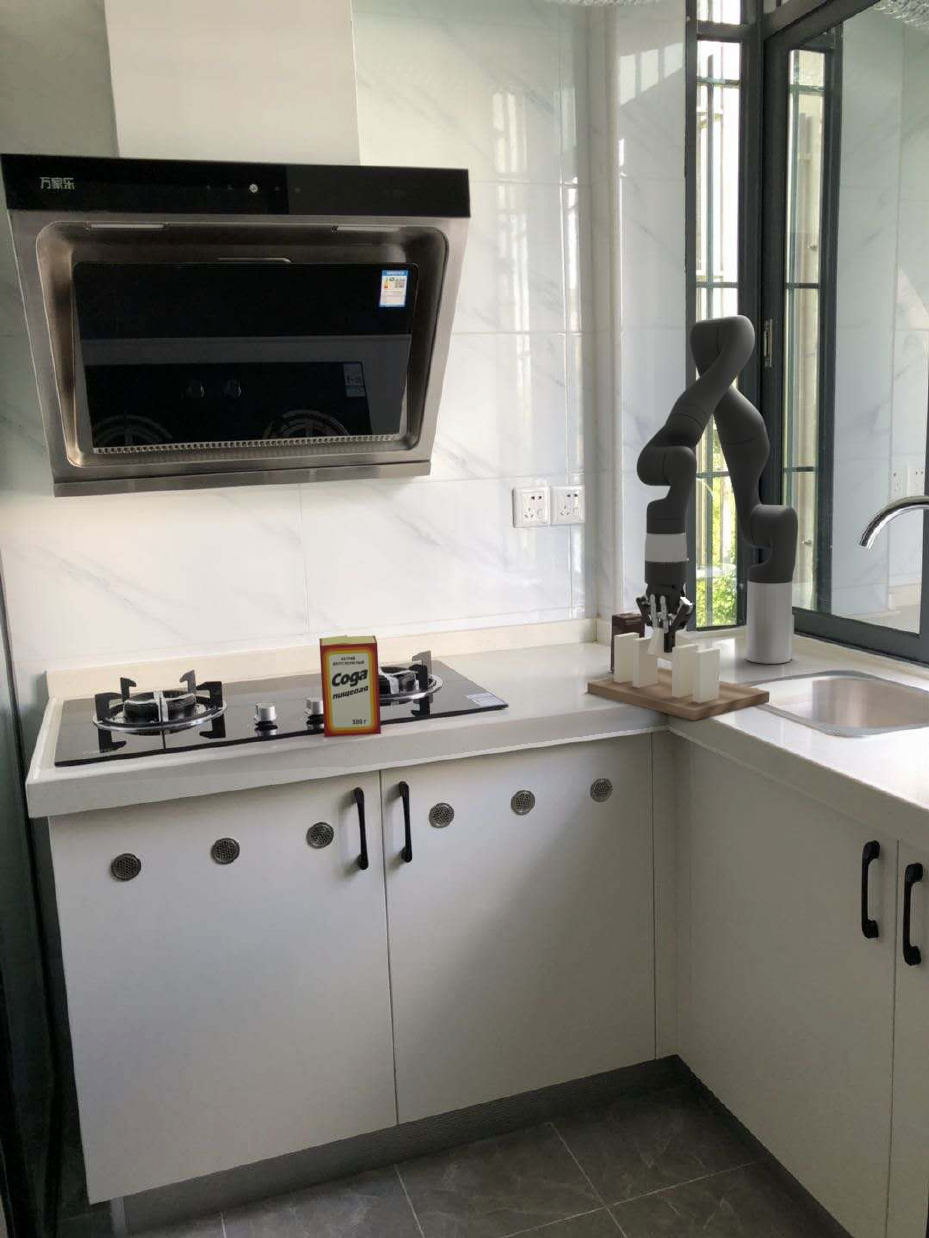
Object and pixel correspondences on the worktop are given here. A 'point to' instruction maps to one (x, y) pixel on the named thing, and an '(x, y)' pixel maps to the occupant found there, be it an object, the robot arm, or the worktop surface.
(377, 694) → the baking soda box
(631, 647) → the domino
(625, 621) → the box
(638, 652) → the domino
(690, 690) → the domino
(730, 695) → the cutting board
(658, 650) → the domino
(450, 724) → the worktop surface
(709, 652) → the domino
